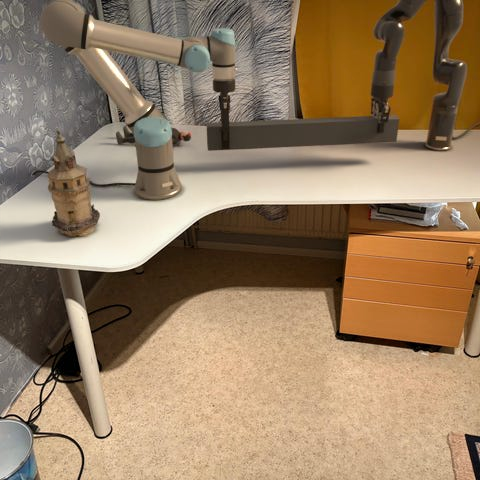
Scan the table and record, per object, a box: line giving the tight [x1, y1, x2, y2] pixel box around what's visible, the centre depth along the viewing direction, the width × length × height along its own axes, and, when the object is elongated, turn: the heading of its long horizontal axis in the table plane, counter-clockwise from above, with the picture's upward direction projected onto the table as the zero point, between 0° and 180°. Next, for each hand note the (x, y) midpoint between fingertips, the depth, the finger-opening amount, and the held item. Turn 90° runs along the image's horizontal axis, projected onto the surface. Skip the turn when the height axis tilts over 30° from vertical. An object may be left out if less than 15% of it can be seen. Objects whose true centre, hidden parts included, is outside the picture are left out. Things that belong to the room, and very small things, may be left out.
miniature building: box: [46, 129, 101, 237], centre depth 148 cm, size 13×14×30 cm
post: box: [205, 114, 400, 152], centre depth 189 cm, size 68×5×8 cm, turn 95°
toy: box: [115, 125, 192, 146], centre depth 218 cm, size 26×6×30 cm
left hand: (225, 145), depth 189 cm, fingers closed on post, 5 cm apart
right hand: (377, 130), depth 191 cm, fingers closed on post, 5 cm apart
